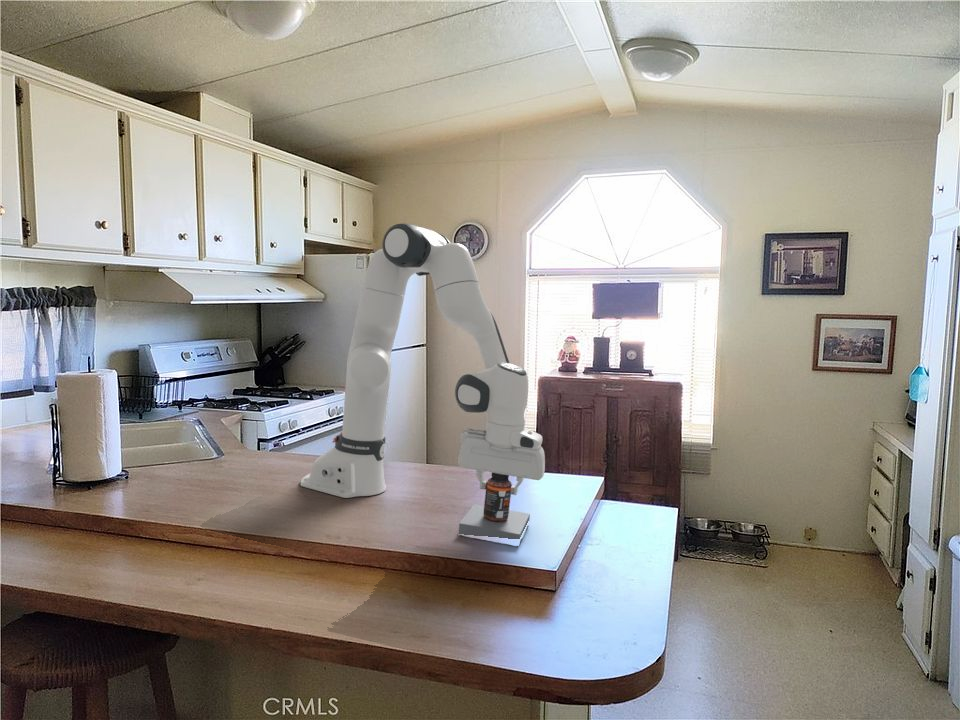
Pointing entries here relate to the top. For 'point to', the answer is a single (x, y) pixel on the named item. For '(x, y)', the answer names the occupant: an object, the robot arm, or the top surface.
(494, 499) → the supplement bottle
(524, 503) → the top surface
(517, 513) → the plinth
